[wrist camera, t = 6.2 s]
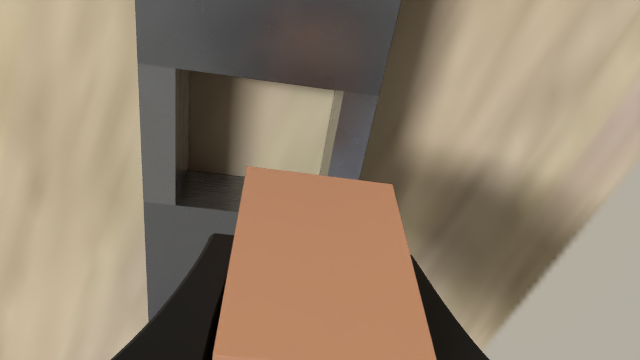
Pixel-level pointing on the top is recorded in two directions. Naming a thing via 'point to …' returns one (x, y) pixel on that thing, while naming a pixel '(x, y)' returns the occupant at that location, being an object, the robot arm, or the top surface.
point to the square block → (320, 274)
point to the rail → (255, 63)
